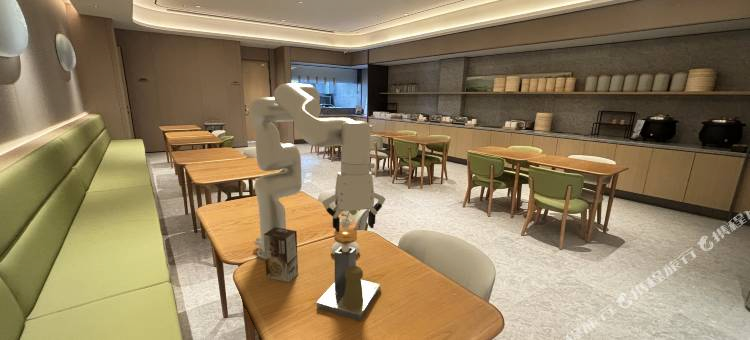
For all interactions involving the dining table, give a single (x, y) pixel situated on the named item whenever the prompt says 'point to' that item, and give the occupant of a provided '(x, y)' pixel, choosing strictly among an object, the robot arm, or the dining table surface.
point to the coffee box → (281, 254)
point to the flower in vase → (345, 224)
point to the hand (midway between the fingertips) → (354, 228)
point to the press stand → (335, 293)
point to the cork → (353, 288)
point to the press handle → (345, 238)
